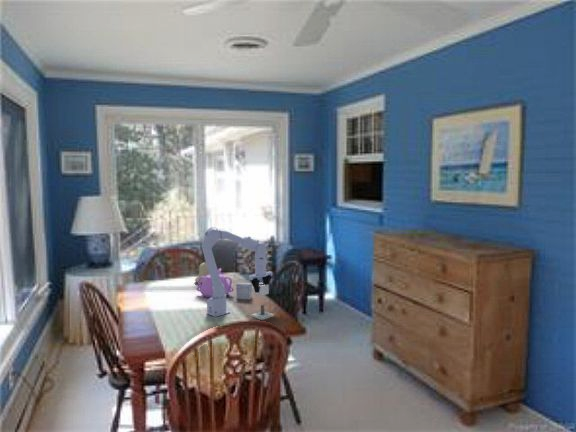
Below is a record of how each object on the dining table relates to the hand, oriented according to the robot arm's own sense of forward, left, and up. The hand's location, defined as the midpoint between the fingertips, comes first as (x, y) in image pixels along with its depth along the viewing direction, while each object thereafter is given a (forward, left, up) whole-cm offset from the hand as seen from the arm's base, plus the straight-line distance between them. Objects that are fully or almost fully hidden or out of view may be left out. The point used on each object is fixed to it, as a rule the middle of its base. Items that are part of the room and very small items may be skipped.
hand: (261, 291), depth 243 cm
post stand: (-7, -9, -10) cm, 15 cm away
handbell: (+14, +71, -10) cm, 73 cm away
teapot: (+1, +42, -10) cm, 43 cm away
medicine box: (+7, +23, -10) cm, 26 cm away
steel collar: (0, 0, -1) cm, 1 cm away
